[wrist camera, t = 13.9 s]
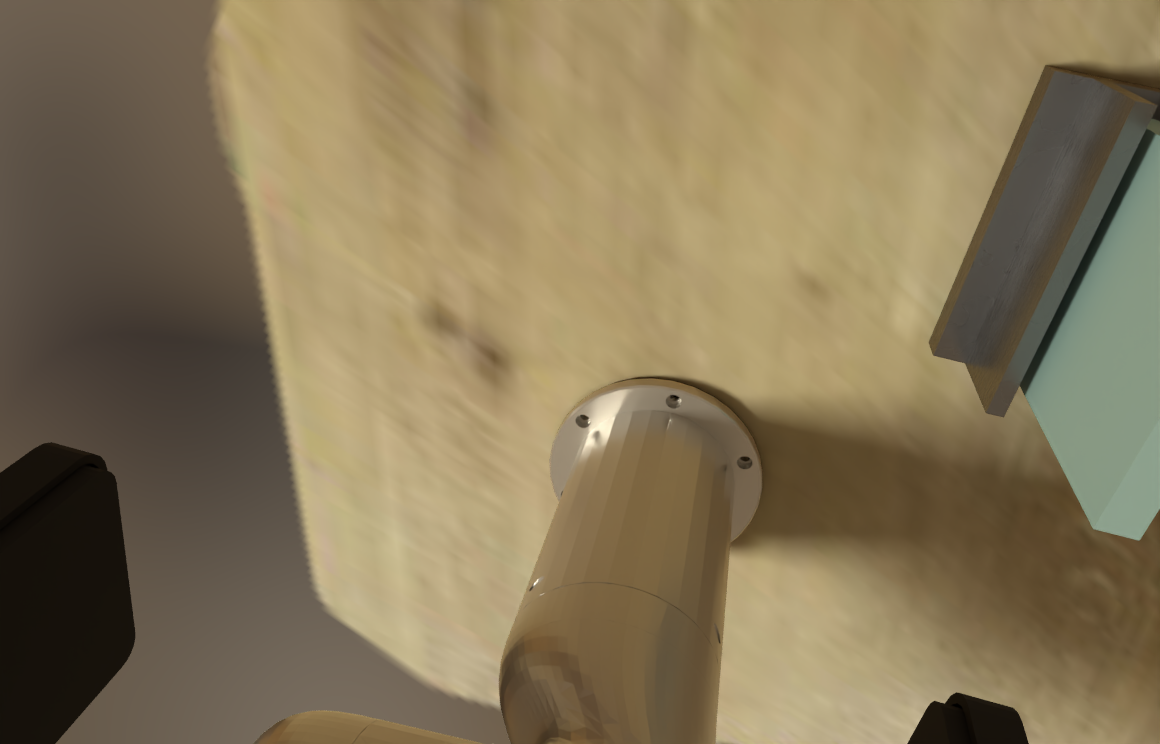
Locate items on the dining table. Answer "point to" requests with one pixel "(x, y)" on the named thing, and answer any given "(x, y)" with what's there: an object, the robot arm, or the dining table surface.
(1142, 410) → the teal sheet
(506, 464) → the dining table surface
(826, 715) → the dining table surface
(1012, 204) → the rack
